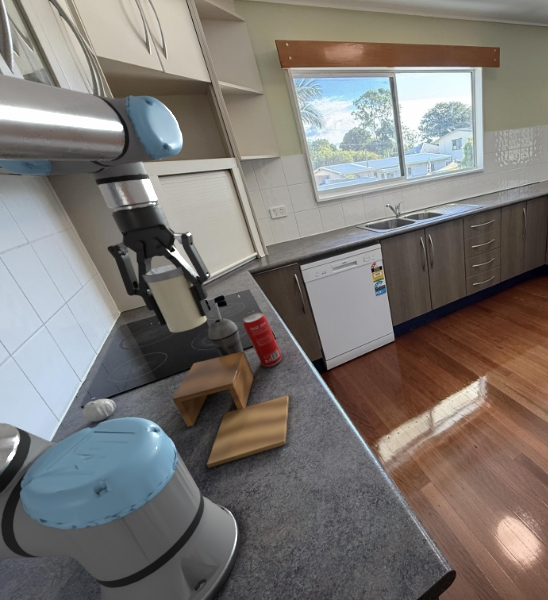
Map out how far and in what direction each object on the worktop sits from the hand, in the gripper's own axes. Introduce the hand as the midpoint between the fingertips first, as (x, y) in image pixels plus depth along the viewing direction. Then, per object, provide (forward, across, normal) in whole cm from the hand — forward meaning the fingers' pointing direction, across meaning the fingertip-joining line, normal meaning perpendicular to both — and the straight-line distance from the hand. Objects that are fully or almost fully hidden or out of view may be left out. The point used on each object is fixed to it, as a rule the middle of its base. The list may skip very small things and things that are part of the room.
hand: (185, 317), depth 66 cm
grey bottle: (+23, -1, -15) cm, 27 cm away
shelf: (+23, 0, -2) cm, 23 cm away
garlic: (+23, +29, -8) cm, 38 cm away
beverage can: (+23, -10, -14) cm, 28 cm away
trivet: (+23, -8, +12) cm, 28 cm away
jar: (+2, 0, 0) cm, 2 cm away
